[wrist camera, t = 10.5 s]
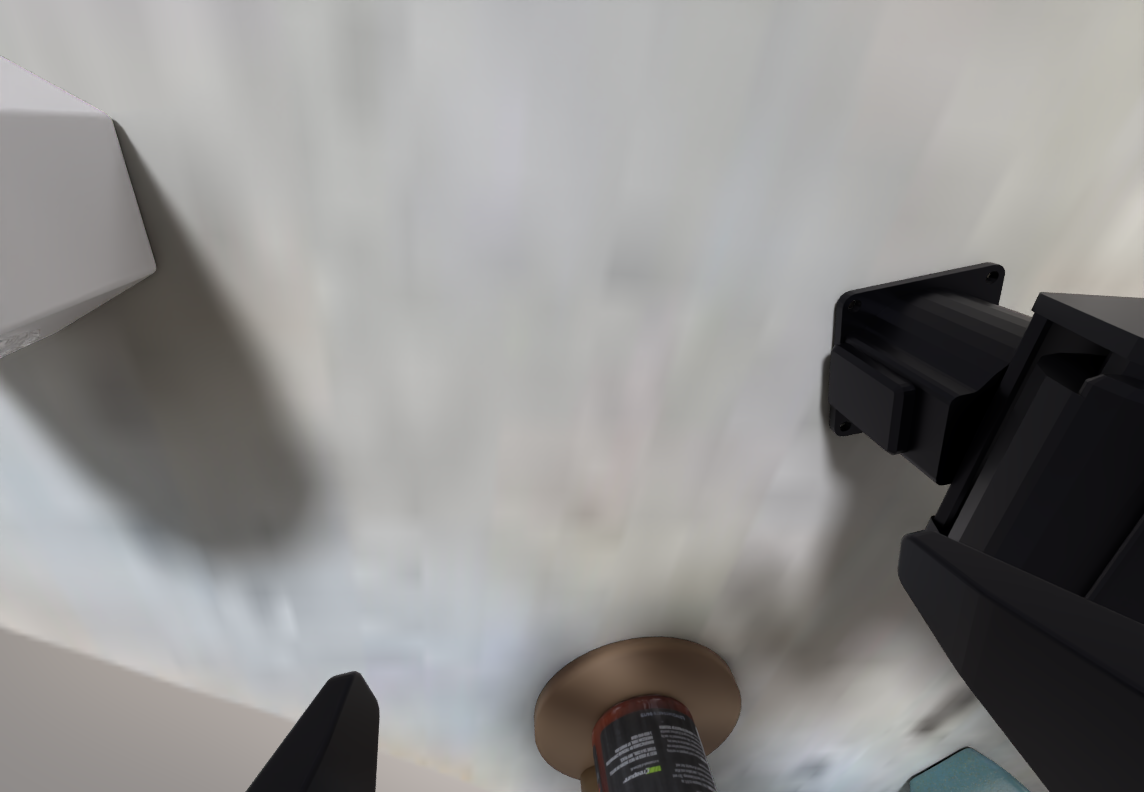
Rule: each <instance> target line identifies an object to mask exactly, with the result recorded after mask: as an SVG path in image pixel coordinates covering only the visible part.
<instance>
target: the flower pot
mask: <svg viewBox="0 0 1144 792" xmlns="http://www.w3.org/2000/svg"><path fill="white" fill-rule="evenodd" d="M910 792H1030V791H1029V790H1028V789H1027V788H1026V787H1024V786H1023V785H1022V784H1021V783H1020V782H1019V781H1018V780H1017V779H1015V778H1014V777H1013V776H1012V775H1011V774H1009V773H1008V772H1007V771H1006V770H1004V769H1003V768H1002V767H1000V766H999V765H997V764H996V763H995V762H993V761H992V760H990V759H988V758H987V757H985V756H984V755H982V754H980V753H979V752H977V751H975V750H974V749H971V748H966V749H964V750H962V751H960V752H958V753H956V754H955V755H953V756H951V757H950V758H948V759H946V760H944V761H943V762H941V763H939V764H938V765H936V766H934V767H932V768H931V769H929V770H927V771H925V772H924V773H922V774H920V775H918V776H916V777H915V778H913V779H912V780H911V781H910Z"/></svg>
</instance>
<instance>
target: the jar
mask: <svg viewBox="0 0 1144 792" xmlns="http://www.w3.org/2000/svg"><path fill="white" fill-rule="evenodd" d="M155 271H156V263H155V260H154V256H153V253H152V250H151V247H150V243H149V240H148V237H147V234H146V230H145V227H144V224H143V220H142V217H141V214H140V211H139V207H138V204H137V201H136V197H135V194H134V191H133V187H132V184H131V181H130V177H129V174H128V171H127V168H126V164H125V161H124V158H123V154H122V151H121V148H120V144H119V141H118V137H117V134H116V131H115V127H114V124H113V121H112V119H111V118H110V116H109V115H108V114H106V113H105V112H103V111H101V110H100V109H98V108H96V107H94V106H92V105H90V104H89V103H87V102H85V101H83V100H81V99H80V98H78V97H76V96H74V95H72V94H70V93H69V92H67V91H65V90H63V89H61V88H59V87H58V86H56V85H54V84H52V83H50V82H48V81H47V80H45V79H43V78H41V77H39V76H38V75H36V74H34V73H32V72H30V71H28V70H27V69H25V68H23V67H21V66H19V65H17V64H16V63H14V62H12V61H10V60H8V59H7V58H5V57H3V56H1V55H0V358H2V357H4V356H6V355H8V354H10V353H12V352H15V351H17V350H19V349H21V348H24V347H26V346H28V345H30V344H33V343H35V342H37V341H39V340H41V339H44V338H46V337H48V336H50V335H53V334H55V333H56V332H58V331H60V330H61V329H63V328H65V327H66V326H68V325H69V324H71V323H73V322H74V321H76V320H78V319H79V318H81V317H83V316H84V315H86V314H88V313H89V312H91V311H92V310H94V309H96V308H97V307H99V306H101V305H102V304H104V303H106V302H107V301H109V300H110V299H112V298H114V297H115V296H117V295H119V294H120V293H122V292H124V291H125V290H127V289H129V288H130V287H132V286H133V285H135V284H137V283H138V282H140V281H142V280H143V279H145V278H147V277H148V276H150V275H152V274H153V273H154V272H155Z"/></svg>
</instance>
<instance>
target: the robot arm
mask: <svg viewBox="0 0 1144 792" xmlns="http://www.w3.org/2000/svg"><path fill="white" fill-rule="evenodd" d="M989 273H990V276H989V277H988V278H987V279H986V277H987V275H988V274H989ZM1004 276H1005V270H1004V268H1003V266H1001V265H998V264H995V263H991V262H986V263H981V264H977V265H972V266H967V267H962V268H957V269H953V270H948V271H943V272H938V273H933V274H928V275H924V276H919V277H914V278H909V279H904V280H900V281H895V282H890V283H885V284H880V285H876V286H871V287H866V288H861V289H856V290H851V291H848V292H846V293H844V294H843V295H842V296H841V297H840V298H839V300H838V302H837V308H836V324H835V340H834V347H833V349H832V351H831V362H830V379H829V396H828V402H829V403H830V404H831V405H830V421H829V426H830V429H831V430H832V431H833V432H834V433H835V434H837V435H838V436H848V435H853V434H857V433H862V432H864V433H865V434H866V435H867V436H869V437H870V438H871V439H872V440H873V441H875V442H876V443H877V444H878V445H879V446H881V447H882V448H883V449H884V450H885V451H887V452H888V453H890V454H891V455H896V454H901V455H902V456H904V457H905V458H906V459H907V460H909V461H910V462H911V463H912V464H913V465H915V466H916V467H917V468H918V469H920V470H921V471H922V472H923V473H924V474H926V475H927V476H928V477H929V478H931V479H932V480H933V481H934V482H935V483H937V484H938V485H947V484H951V485H950V487H949V489H948V491H947V493H946V495H945V497H944V499H943V501H942V503H941V505H940V507H939V509H938V511H937V514H936V516H932V517H931V518H930V520H929V522H928V524H927V526H926V529H925V530H922V531H918V532H913V533H909V534H906V535H905V536H904V537H903V538H902V540H901V547H900V554H899V562H898V576H899V579H900V581H901V584H902V585H903V587H904V589H905V590H906V592H907V593H908V595H909V597H910V598H911V600H912V601H913V603H914V604H915V606H916V608H917V609H918V611H919V612H920V614H921V615H922V617H923V619H924V620H925V622H926V623H927V625H928V626H929V628H930V630H931V631H932V633H933V634H934V636H935V637H936V639H937V641H938V642H939V644H940V645H941V647H942V648H943V650H944V652H945V653H946V655H947V656H948V658H949V659H950V661H951V662H952V664H953V665H954V667H955V668H956V670H957V671H958V673H959V674H960V676H961V677H962V678H963V680H964V681H965V683H966V684H967V685H968V687H969V688H970V689H971V691H972V692H973V693H974V694H975V696H976V697H977V698H978V700H979V701H980V702H981V704H982V705H983V706H984V707H985V709H986V710H987V711H988V713H989V714H990V715H991V717H992V718H993V719H994V720H995V722H996V723H997V724H998V726H999V727H1000V728H1001V729H1002V731H1003V732H1004V733H1005V735H1006V736H1007V737H1008V739H1009V740H1010V741H1011V742H1012V744H1013V745H1014V746H1015V748H1016V749H1017V750H1018V751H1019V753H1020V754H1021V755H1022V757H1023V758H1024V759H1025V761H1026V762H1027V763H1028V764H1029V766H1030V767H1031V768H1032V770H1033V771H1034V772H1035V773H1036V775H1037V776H1038V777H1039V779H1040V780H1041V781H1042V783H1043V784H1044V785H1045V786H1046V788H1047V789H1048V790H1049V792H1144V298H1132V297H1116V296H1099V295H1083V294H1066V293H1049V292H1040V293H1039V295H1038V297H1037V299H1036V301H1035V303H1034V306H1033V308H1032V311H1033V312H1035V313H1034V315H1033V317H1030V316H1027V315H1024V314H1022V313H1019V312H1016V311H1013V310H1010V309H1008V308H1005V307H1002V306H999V300H1000V295H1001V290H1002V286H1003V281H1004ZM854 300H855V304H854V306H853V307H852V308H850V309H849V308H848V307H849V304H850V303H851V302H852V301H854ZM843 422H845V424H844V425H843V426H841V427H840V425H841V424H842V423H843ZM378 734H379V706H378V702H377V700H376V698H375V696H374V695H373V693H372V691H371V690H370V688H369V686H368V685H367V683H366V682H365V680H364V678H363V677H362V675H361V674H360V673H358V672H356V671H352V672H348V673H344V674H340V675H336V676H333V677H332V678H330V679H329V680H328V681H327V682H326V684H325V685H324V686H323V688H322V689H321V690H320V692H319V693H318V694H317V696H316V697H315V698H314V700H313V701H312V702H311V704H310V705H309V707H308V708H307V709H306V711H305V712H304V713H303V715H302V716H301V717H300V719H299V720H298V721H297V723H296V724H295V726H294V727H293V728H292V730H291V731H290V732H289V734H288V735H287V736H286V738H285V739H284V740H283V742H282V743H281V745H280V746H279V747H278V749H277V750H276V751H275V753H274V754H273V755H272V757H271V758H270V760H269V761H268V762H267V763H266V765H265V766H264V768H263V769H262V771H261V772H260V773H259V774H258V776H257V777H256V778H255V780H254V781H253V782H252V784H251V785H250V787H249V788H248V789H247V791H246V792H375V789H376V788H375V787H376V770H377V752H378Z"/></svg>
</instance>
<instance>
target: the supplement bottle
mask: <svg viewBox="0 0 1144 792" xmlns="http://www.w3.org/2000/svg"><path fill="white" fill-rule="evenodd" d="M592 747H593V758H594V763H595V771H596V776H597V784H598V789H599V792H718V791H717V788H716V785H715V782H714V779H713V776H712V773H711V770H710V767H709V764H708V761H707V758H706V755H705V752H704V749H703V746H702V743H701V740H700V737H699V734H698V731H697V728H696V726H695V723H694V720H693V717H692V715H691V713H690V711H689V710H688V708H687V707H686V706H685V705H684V704H683V703H681V702H680V701H677V700H676V699H673V698H672V697H667V696H661V695H658V694H653V695H646V696H638V697H633V698H631V699H628V700H625V701H623V702H620V703H618V704H616V705H614V706H613V707H612V708H610V709H609V710H608V711H606V712H605V713H604V714H603V715H602V716H601V717H600V718H599V720H598V721H597V723H596V724H595V726H594V729H593V732H592Z"/></svg>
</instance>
